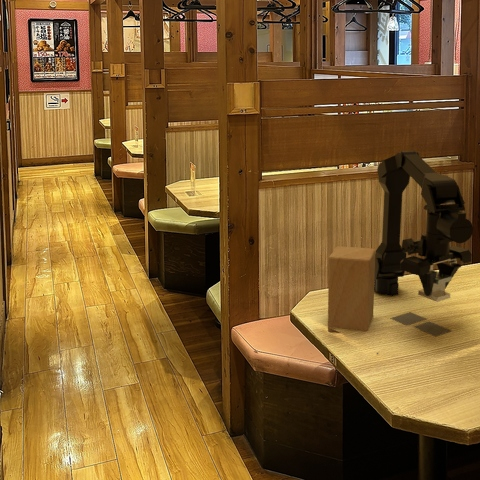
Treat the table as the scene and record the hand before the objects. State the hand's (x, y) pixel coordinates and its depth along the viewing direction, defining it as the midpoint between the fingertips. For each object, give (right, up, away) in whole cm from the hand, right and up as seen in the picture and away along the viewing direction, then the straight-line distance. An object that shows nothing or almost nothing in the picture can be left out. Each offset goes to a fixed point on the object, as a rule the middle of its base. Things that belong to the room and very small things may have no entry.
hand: (434, 293), depth 162 cm
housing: (0, -1, 0) cm, 1 cm away
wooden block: (-19, -9, +8) cm, 23 cm away
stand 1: (-4, -9, +9) cm, 13 cm away
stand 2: (0, -10, +3) cm, 11 cm away
